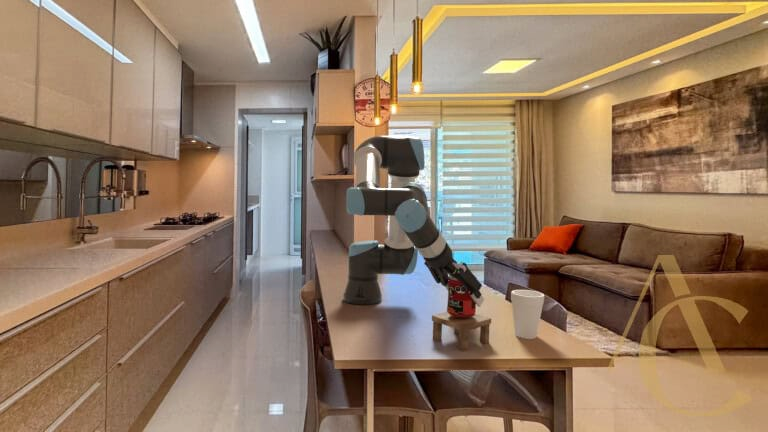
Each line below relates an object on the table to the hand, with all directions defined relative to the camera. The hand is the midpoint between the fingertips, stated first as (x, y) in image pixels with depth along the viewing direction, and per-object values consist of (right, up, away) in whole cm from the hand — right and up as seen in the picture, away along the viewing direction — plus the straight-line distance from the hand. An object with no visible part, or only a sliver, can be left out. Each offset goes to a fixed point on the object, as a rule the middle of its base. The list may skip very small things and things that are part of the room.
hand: (469, 299), depth 122 cm
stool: (-3, -12, -2) cm, 12 cm away
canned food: (-3, -4, -2) cm, 5 cm away
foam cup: (+18, -12, +5) cm, 22 cm away
